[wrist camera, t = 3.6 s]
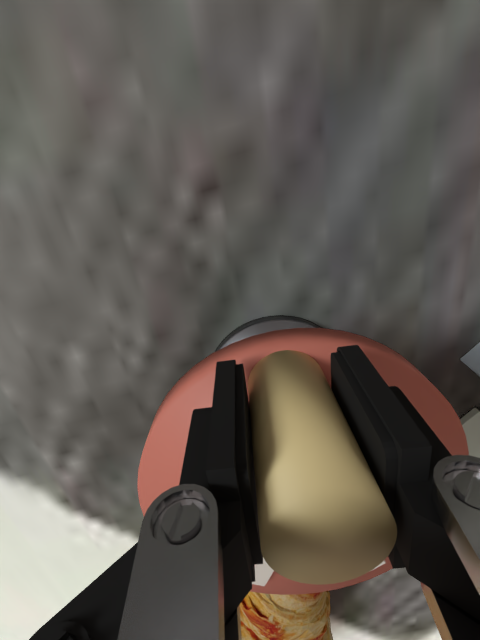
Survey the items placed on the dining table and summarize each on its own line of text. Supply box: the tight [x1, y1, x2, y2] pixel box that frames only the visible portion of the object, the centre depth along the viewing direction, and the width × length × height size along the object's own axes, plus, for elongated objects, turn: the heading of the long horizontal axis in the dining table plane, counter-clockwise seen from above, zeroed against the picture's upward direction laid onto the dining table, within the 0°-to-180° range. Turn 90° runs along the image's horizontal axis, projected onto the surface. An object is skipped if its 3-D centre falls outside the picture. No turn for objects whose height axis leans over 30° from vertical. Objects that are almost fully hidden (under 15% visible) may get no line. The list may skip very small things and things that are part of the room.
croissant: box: [239, 591, 333, 640], centre depth 24 cm, size 21×10×8 cm, turn 164°
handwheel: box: [138, 328, 469, 595], centre depth 11 cm, size 12×12×6 cm
